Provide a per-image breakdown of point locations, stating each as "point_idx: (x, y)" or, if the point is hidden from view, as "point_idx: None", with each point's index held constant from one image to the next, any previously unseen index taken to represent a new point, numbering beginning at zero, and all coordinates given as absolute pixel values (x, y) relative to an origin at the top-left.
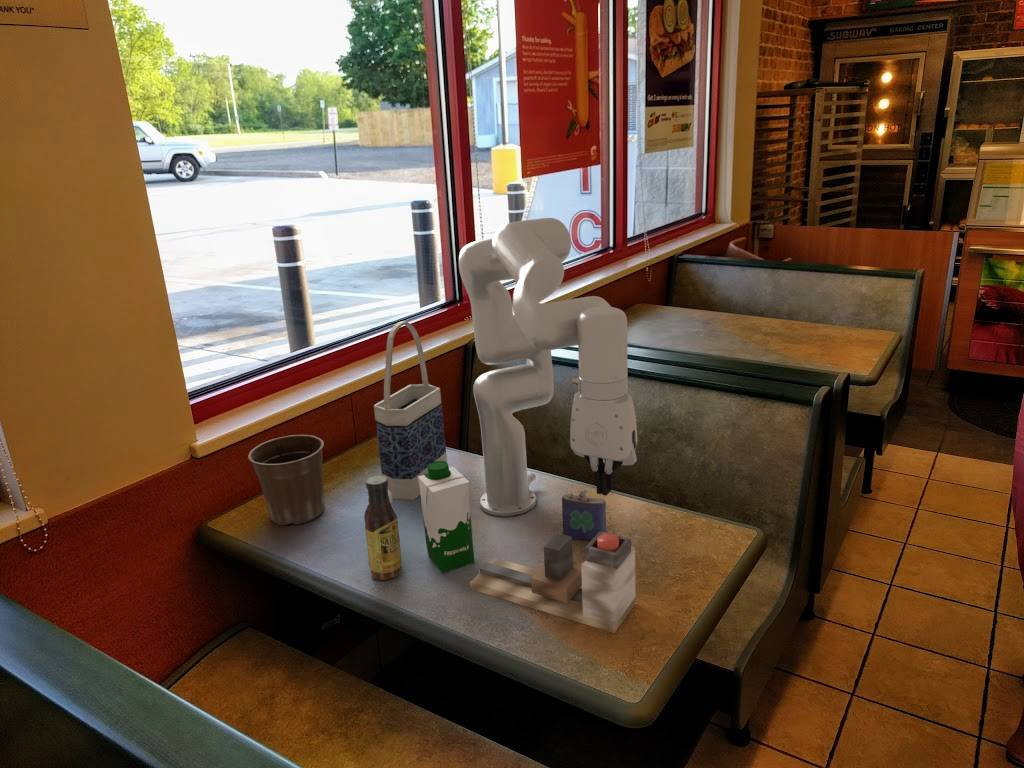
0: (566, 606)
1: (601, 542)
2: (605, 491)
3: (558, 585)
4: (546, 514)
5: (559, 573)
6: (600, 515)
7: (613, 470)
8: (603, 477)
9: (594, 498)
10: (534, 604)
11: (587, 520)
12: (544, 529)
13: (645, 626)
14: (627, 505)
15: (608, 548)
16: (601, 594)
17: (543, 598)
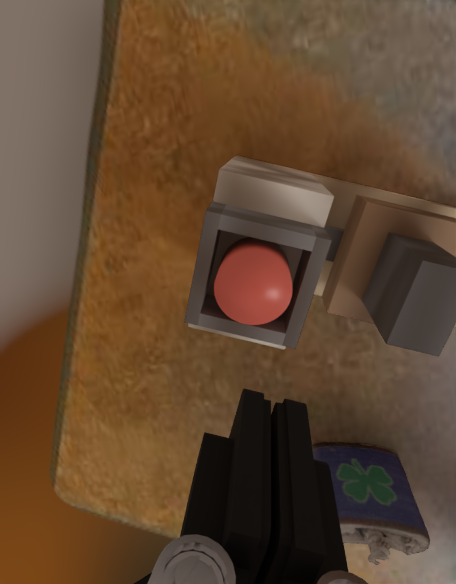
0: None
1: (272, 262)
2: (242, 406)
3: (391, 209)
4: (442, 514)
5: (397, 237)
6: None
7: (144, 582)
8: (250, 501)
9: (346, 541)
10: (436, 203)
11: (352, 482)
12: (441, 470)
13: (178, 195)
14: None
15: (245, 249)
16: (264, 170)
17: None
